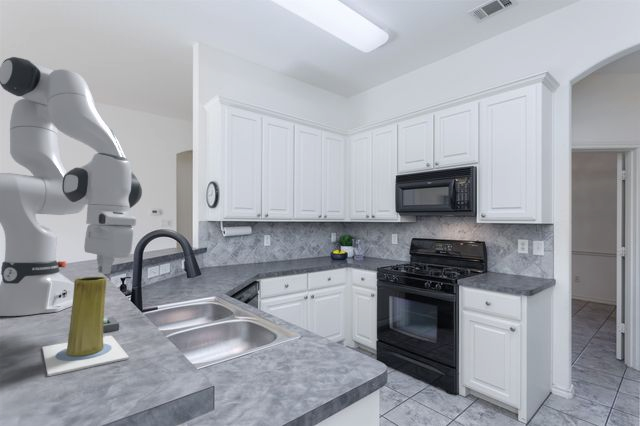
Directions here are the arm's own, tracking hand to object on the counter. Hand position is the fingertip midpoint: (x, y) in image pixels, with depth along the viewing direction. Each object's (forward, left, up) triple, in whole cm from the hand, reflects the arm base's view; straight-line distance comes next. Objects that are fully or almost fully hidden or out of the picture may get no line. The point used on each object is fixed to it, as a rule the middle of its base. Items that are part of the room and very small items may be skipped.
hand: (104, 273), depth 80 cm
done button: (0, 0, -14) cm, 14 cm away
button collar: (0, 0, -14) cm, 14 cm away
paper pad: (+15, +8, -14) cm, 22 cm away
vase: (+15, +8, -13) cm, 21 cm away
